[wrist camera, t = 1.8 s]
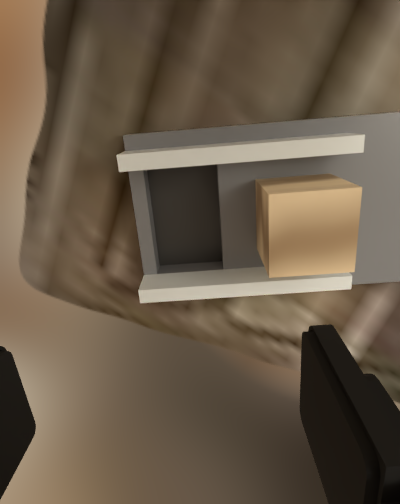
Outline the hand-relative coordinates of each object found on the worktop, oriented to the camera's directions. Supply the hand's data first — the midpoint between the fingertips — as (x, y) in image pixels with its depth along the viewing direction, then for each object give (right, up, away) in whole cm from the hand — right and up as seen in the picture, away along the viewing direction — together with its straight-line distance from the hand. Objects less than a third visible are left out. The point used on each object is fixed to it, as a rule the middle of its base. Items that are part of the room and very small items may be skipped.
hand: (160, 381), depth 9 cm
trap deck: (+9, +7, +16) cm, 20 cm away
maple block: (+7, +6, +15) cm, 18 cm away
